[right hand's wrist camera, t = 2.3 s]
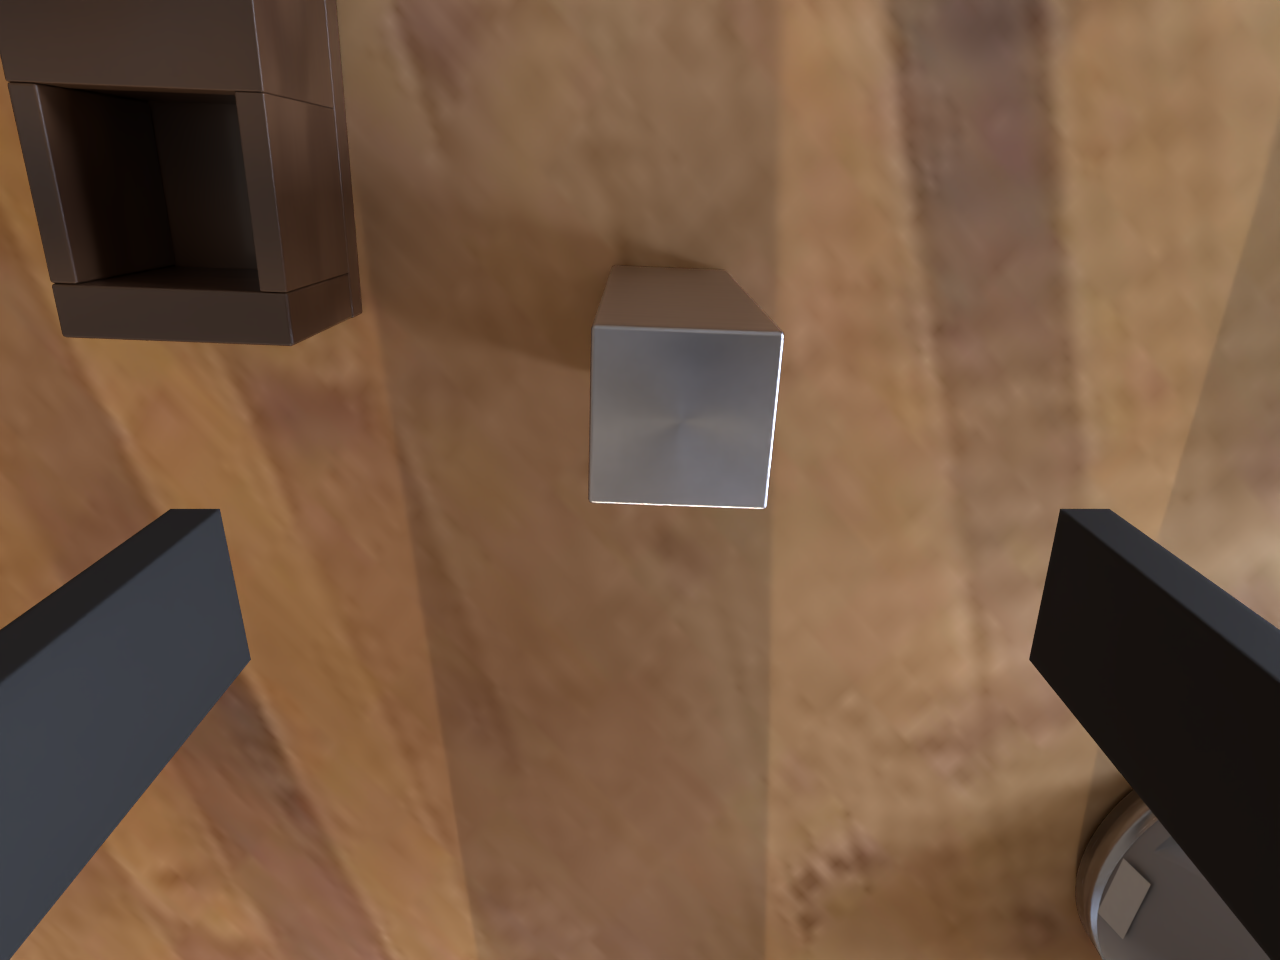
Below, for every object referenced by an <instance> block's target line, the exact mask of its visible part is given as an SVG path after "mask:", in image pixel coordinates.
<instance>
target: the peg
mask: <svg viewBox="0 0 1280 960" xmlns="http://www.w3.org/2000/svg"><path fill="white" fill-rule="evenodd" d="M783 344H784V333H783V332H782V331H781V329H780V328H779V327H778V326H777V325H776V324H775V323H774V322H773V321H772V320H771V319H770V318H769V316H768V315H767V314H766V313H765V312H764V311H763V310H762V309H761V308H760V307H759V306H758V305H757V303H756V302H755V301H754V300H753V299H752V298H751V297H750V296H749V295H748V294H747V293H746V292H745V290H744V289H743V288H742V287H741V286H740V285H739V284H738V283H737V282H736V281H735V280H734V279H733V277H732V276H731V275H730V274H729V273H728V272H727V271H726V270H717V269H692V268H667V267H642V266H618V265H614V266H612V268H611V271H610V274H609V277H608V280H607V283H606V286H605V289H604V292H603V295H602V298H601V301H600V304H599V307H598V310H597V313H596V316H595V318H594V321H593V324H592V327H591V367H590V427H589V486H588V499H589V502H591V503H604V504H631V505H659V506H686V507H714V508H741V509H765V508H766V506H767V499H768V489H769V479H770V470H771V460H772V450H773V441H774V431H775V421H776V412H777V402H778V392H779V383H780V373H781V363H782V354H783Z"/></svg>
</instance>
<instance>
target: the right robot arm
mask: <svg viewBox="0 0 1280 960" xmlns="http://www.w3.org/2000/svg"><path fill="white" fill-rule="evenodd" d="M250 660H251V658H250V653H249V649H248V644H247V639H246V634H245V629H244V624H243V619H242V615H241V610H240V605H239V600H238V595H237V590H236V586H235V581H234V576H233V571H232V566H231V561H230V557H229V552H228V547H227V542H226V537H225V532H224V527H223V523H222V518H221V513H220V509H170V510H169V511H167V512H166V513H164V514H163V515H162V516H160V517H159V518H157V519H156V520H155V521H153V522H152V523H150V524H149V525H147V526H146V527H145V528H143V529H142V530H140V531H139V532H138V533H136V534H135V535H133V536H132V537H131V538H129V539H128V540H126V541H125V542H124V543H122V544H121V545H119V546H118V547H117V548H115V549H114V550H112V551H111V552H109V553H108V554H107V555H105V556H104V557H102V558H101V559H100V560H98V561H97V562H95V563H94V564H93V565H91V566H90V567H88V568H87V569H86V570H84V571H83V572H81V573H80V574H79V575H77V576H76V577H74V578H73V579H71V580H70V581H69V582H67V583H66V584H64V585H63V586H62V587H60V588H59V589H57V590H56V591H55V592H53V593H52V594H50V595H49V596H48V597H46V598H45V599H43V600H42V601H41V602H39V603H38V604H36V605H35V606H33V607H32V608H31V609H29V610H28V611H26V612H25V613H24V614H22V615H21V616H19V617H18V618H17V619H15V620H14V621H12V622H11V623H10V624H8V625H7V626H5V627H4V628H3V629H1V630H0V960H10V958H11V957H12V956H13V955H14V953H15V952H16V951H17V950H18V948H19V947H20V946H21V945H22V943H23V942H24V941H25V940H26V938H27V937H28V936H29V935H30V933H31V932H32V931H33V930H34V928H35V927H36V926H37V925H38V923H39V922H40V921H41V920H42V919H43V917H44V916H45V915H46V914H47V912H48V911H49V910H50V909H51V907H52V906H53V905H54V904H55V902H56V901H57V900H58V899H59V897H60V896H61V895H62V894H63V892H64V891H65V890H66V889H67V887H68V886H69V885H70V884H71V882H72V881H73V880H74V879H75V877H76V876H77V875H78V874H79V873H80V871H81V870H82V869H83V868H84V866H85V865H86V864H87V863H88V861H89V860H90V859H91V858H92V856H93V855H94V854H95V853H96V851H97V850H98V849H99V848H100V846H101V845H102V844H103V843H104V841H105V840H106V839H107V838H108V836H109V835H110V834H111V833H112V831H113V830H114V829H115V828H116V827H117V825H118V824H119V823H120V822H121V820H122V819H123V818H124V817H125V815H126V814H127V813H128V812H129V810H130V809H131V808H132V807H133V805H134V804H135V803H136V802H137V800H138V799H139V798H140V797H141V795H142V794H143V793H144V792H145V790H146V789H147V788H148V787H149V785H150V784H151V783H152V782H153V781H154V779H155V778H156V777H157V776H158V774H159V773H160V772H161V771H162V769H163V768H164V767H165V766H166V764H167V763H168V762H169V761H170V759H171V758H172V757H173V756H174V754H175V753H176V752H177V751H178V749H179V748H180V747H181V746H182V744H183V743H184V742H185V741H186V739H187V738H188V737H189V736H190V734H191V733H192V732H193V731H194V730H195V728H196V727H197V726H198V725H199V723H200V722H201V721H202V720H203V718H204V717H205V716H206V715H207V713H208V712H209V711H210V710H211V708H212V707H213V706H214V705H215V703H216V702H217V701H218V700H219V698H220V697H221V696H222V695H223V693H224V692H225V691H226V690H227V688H228V687H229V686H230V685H231V684H232V682H233V681H234V680H235V679H236V677H237V676H238V675H239V674H240V672H241V671H242V670H243V669H244V667H245V666H246V665H247V664H248V662H249V661H250ZM1029 660H1030V661H1031V662H1032V664H1033V665H1034V666H1035V667H1036V669H1037V670H1038V671H1039V672H1040V674H1041V675H1042V676H1043V677H1044V679H1045V680H1046V681H1047V682H1048V684H1049V685H1050V686H1051V687H1052V688H1053V690H1054V691H1055V692H1056V693H1057V695H1058V696H1059V697H1060V698H1061V700H1062V701H1063V702H1064V703H1065V705H1066V706H1067V707H1068V708H1069V710H1070V711H1071V712H1072V713H1073V715H1074V716H1075V717H1076V718H1077V720H1078V721H1079V722H1080V723H1081V725H1082V726H1083V727H1084V728H1085V730H1086V731H1087V732H1088V733H1089V734H1090V736H1091V737H1092V738H1093V739H1094V741H1095V742H1096V743H1097V744H1098V746H1099V747H1100V748H1101V749H1102V751H1103V752H1104V753H1105V754H1106V756H1107V757H1108V758H1109V759H1110V761H1111V762H1112V763H1113V764H1114V766H1115V767H1116V768H1117V769H1118V771H1119V772H1120V773H1121V774H1122V776H1123V777H1124V778H1125V779H1126V781H1127V782H1128V783H1129V784H1130V785H1131V787H1132V788H1133V789H1134V790H1132V791H1131V792H1130V793H1129V794H1128V795H1127V796H1126V797H1125V798H1123V799H1122V800H1121V801H1120V802H1119V803H1118V804H1117V805H1116V806H1115V807H1114V808H1113V809H1112V811H1111V812H1110V813H1109V814H1108V815H1107V816H1106V817H1105V819H1104V820H1103V821H1102V823H1101V824H1100V825H1099V826H1098V828H1097V830H1096V831H1095V833H1094V834H1093V836H1092V837H1091V839H1090V841H1089V843H1088V845H1087V847H1086V849H1085V851H1084V854H1083V856H1082V859H1081V862H1080V865H1079V869H1078V873H1077V879H1076V904H1077V910H1078V914H1079V917H1080V920H1081V922H1082V925H1083V927H1084V929H1085V931H1086V933H1087V934H1088V936H1089V938H1090V939H1091V941H1092V943H1093V944H1094V946H1095V948H1096V950H1097V951H1098V953H1099V955H1100V956H1101V958H1102V960H1280V630H1279V629H1277V628H1276V627H1275V626H1273V625H1272V624H1270V623H1269V622H1268V621H1266V620H1265V619H1263V618H1262V617H1261V616H1259V615H1258V614H1256V613H1255V612H1254V611H1252V610H1251V609H1249V608H1248V607H1247V606H1245V605H1244V604H1242V603H1241V602H1239V601H1238V600H1237V599H1235V598H1234V597H1232V596H1231V595H1230V594H1228V593H1227V592H1225V591H1224V590H1223V589H1221V588H1220V587H1218V586H1217V585H1216V584H1214V583H1213V582H1211V581H1210V580H1209V579H1207V578H1206V577H1204V576H1203V575H1201V574H1200V573H1199V572H1197V571H1196V570H1194V569H1193V568H1192V567H1190V566H1189V565H1187V564H1186V563H1185V562H1183V561H1182V560H1180V559H1179V558H1178V557H1176V556H1175V555H1173V554H1172V553H1171V552H1169V551H1168V550H1166V549H1165V548H1163V547H1162V546H1161V545H1159V544H1158V543H1156V542H1155V541H1154V540H1152V539H1151V538H1149V537H1148V536H1147V535H1145V534H1144V533H1142V532H1141V531H1140V530H1138V529H1137V528H1135V527H1134V526H1133V525H1131V524H1130V523H1128V522H1127V521H1125V520H1124V519H1123V518H1121V517H1120V516H1118V515H1117V514H1116V513H1114V512H1113V511H1111V510H1110V509H1060V513H1059V518H1058V523H1057V527H1056V532H1055V537H1054V542H1053V547H1052V552H1051V557H1050V561H1049V566H1048V571H1047V576H1046V581H1045V586H1044V590H1043V595H1042V600H1041V605H1040V610H1039V615H1038V619H1037V624H1036V629H1035V634H1034V639H1033V644H1032V649H1031V653H1030V658H1029Z"/></svg>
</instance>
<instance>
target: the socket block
mask: <svg viewBox="0 0 1280 960" xmlns="http://www.w3.org/2000/svg"><path fill="white" fill-rule="evenodd" d="M0 56H1V60H2V65H3V69H4V74H5V78H6V81H8V82H10V83H8V89H9V93H10V98H11V103H12V107H13V112H14V116H15V121H16V125H17V130H18V134H19V139H20V144H21V148H22V153H23V157H24V162H25V166H26V171H27V176H28V180H29V185H30V189H31V194H32V198H33V203H34V207H35V212H36V217H37V221H38V226H39V230H40V235H41V239H42V244H43V249H44V253H45V258H46V262H47V267H48V271H49V276H50V280H51V282H53V283H55V284H53V285H52V288H53V293H54V298H55V302H56V307H57V311H58V316H59V320H60V325H61V330H62V334H63V336H65V337H73V338H99V339H125V340H151V341H176V342H202V343H228V344H254V345H280V346H292V345H294V344H297V343H299V342H301V341H303V340H305V339H307V338H309V337H311V336H313V335H316V334H318V333H320V332H322V331H324V330H326V329H328V328H330V327H332V326H335V325H337V324H339V323H341V322H343V321H345V320H347V319H349V318H352V317H355V316H357V315H359V314H361V313H362V304H361V292H360V280H359V269H358V257H357V245H356V233H355V221H354V209H353V198H352V186H351V174H350V162H349V150H348V138H347V127H346V115H345V103H344V91H343V79H342V67H341V55H340V44H339V32H338V20H337V8H336V0H0Z"/></svg>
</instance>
